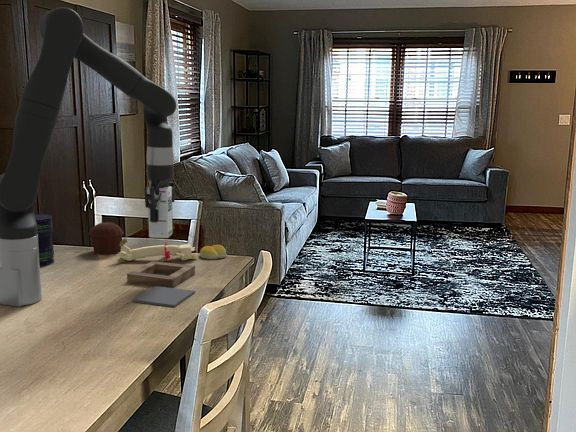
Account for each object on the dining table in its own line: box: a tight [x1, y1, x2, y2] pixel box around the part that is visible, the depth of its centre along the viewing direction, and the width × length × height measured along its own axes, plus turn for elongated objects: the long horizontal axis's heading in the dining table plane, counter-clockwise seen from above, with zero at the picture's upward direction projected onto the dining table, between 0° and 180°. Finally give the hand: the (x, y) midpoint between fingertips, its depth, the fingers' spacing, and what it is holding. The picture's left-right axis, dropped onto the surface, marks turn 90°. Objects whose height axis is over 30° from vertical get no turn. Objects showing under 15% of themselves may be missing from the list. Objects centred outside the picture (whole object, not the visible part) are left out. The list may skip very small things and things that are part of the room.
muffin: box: [88, 221, 125, 256], centre depth 198 cm, size 12×11×10 cm
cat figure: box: [118, 237, 199, 264], centre depth 190 cm, size 10×9×25 cm
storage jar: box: [35, 213, 55, 268], centre depth 182 cm, size 10×10×15 cm
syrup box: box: [147, 186, 173, 239], centre depth 167 cm, size 6×6×14 cm
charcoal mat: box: [132, 286, 196, 308], centre depth 155 cm, size 12×12×1 cm
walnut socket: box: [126, 260, 196, 288], centre depth 171 cm, size 14×14×2 cm
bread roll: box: [199, 244, 228, 260], centre depth 196 cm, size 8×9×4 cm
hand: (160, 219), depth 168 cm, fingers closed on syrup box, 6 cm apart
